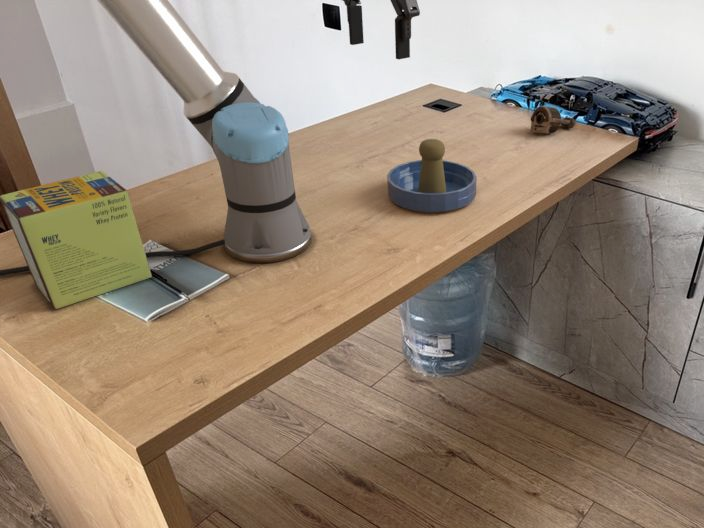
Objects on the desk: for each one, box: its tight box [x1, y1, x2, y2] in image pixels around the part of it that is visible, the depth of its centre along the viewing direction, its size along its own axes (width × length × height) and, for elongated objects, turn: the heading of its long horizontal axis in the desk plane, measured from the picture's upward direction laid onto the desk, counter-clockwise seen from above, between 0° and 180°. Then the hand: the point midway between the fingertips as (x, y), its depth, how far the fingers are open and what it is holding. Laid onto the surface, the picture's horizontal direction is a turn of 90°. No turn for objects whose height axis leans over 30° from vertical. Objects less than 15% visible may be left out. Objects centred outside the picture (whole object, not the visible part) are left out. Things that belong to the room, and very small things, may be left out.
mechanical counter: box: [529, 105, 577, 135], centre depth 173 cm, size 7×13×10 cm
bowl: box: [386, 159, 478, 214], centre depth 140 cm, size 18×18×4 cm
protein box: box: [0, 170, 153, 310], centre depth 106 cm, size 10×15×16 cm
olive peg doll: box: [418, 138, 447, 193], centre depth 137 cm, size 6×6×11 cm
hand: (379, 50), depth 125 cm, fingers open, 13 cm apart
